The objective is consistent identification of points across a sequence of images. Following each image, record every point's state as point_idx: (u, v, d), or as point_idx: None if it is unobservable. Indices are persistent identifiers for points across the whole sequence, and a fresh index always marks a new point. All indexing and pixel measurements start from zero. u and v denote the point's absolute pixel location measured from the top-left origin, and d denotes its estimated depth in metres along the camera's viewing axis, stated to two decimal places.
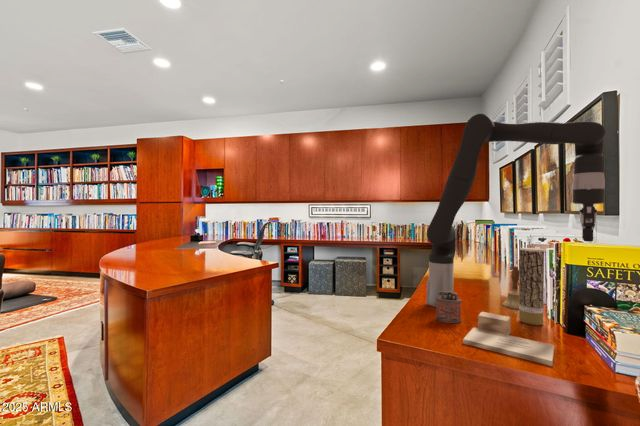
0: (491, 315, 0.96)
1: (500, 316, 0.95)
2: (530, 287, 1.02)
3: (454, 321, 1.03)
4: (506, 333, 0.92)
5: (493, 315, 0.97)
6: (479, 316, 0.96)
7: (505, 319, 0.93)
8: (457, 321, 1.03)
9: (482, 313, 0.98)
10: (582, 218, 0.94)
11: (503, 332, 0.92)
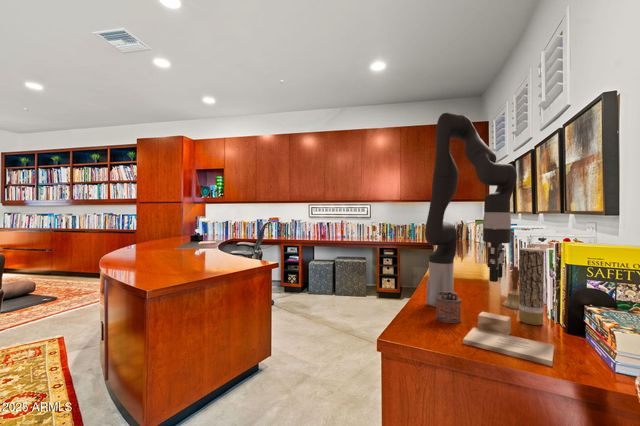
0: (491, 315, 0.96)
1: (500, 316, 0.95)
2: (530, 287, 1.02)
3: (454, 321, 1.03)
4: (506, 333, 0.92)
5: (493, 315, 0.97)
6: (479, 316, 0.96)
7: (505, 319, 0.93)
8: (457, 321, 1.03)
9: (482, 313, 0.99)
10: None
11: (503, 332, 0.92)
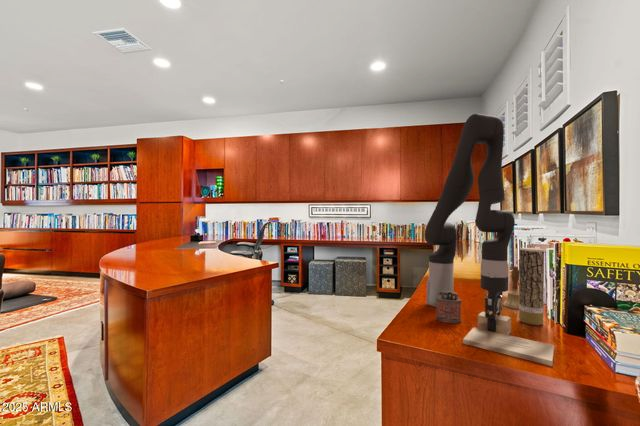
0: None
1: (500, 317, 0.95)
2: (530, 287, 1.02)
3: (454, 321, 1.03)
4: (505, 333, 0.92)
5: None
6: (479, 316, 0.97)
7: (505, 319, 0.93)
8: (457, 321, 1.03)
9: (482, 313, 0.99)
10: None
11: (502, 332, 0.92)
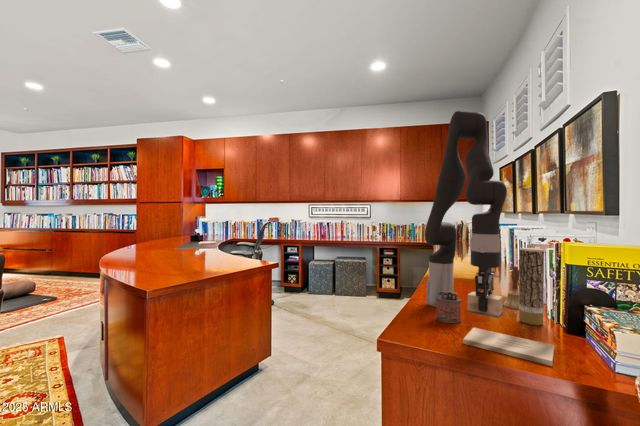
0: None
1: (492, 296, 0.88)
2: (530, 287, 1.02)
3: (454, 321, 1.03)
4: (497, 313, 0.84)
5: None
6: (469, 295, 0.89)
7: (497, 298, 0.86)
8: (457, 321, 1.03)
9: (472, 293, 0.91)
10: None
11: (494, 312, 0.85)
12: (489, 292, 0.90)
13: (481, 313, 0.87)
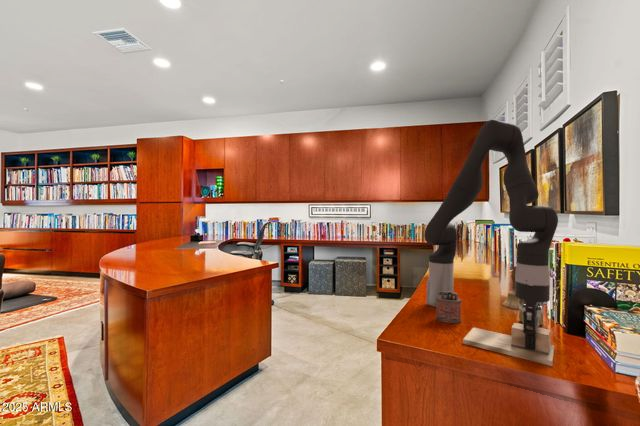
0: (527, 327, 0.82)
1: (538, 329, 0.81)
2: None
3: (454, 321, 1.03)
4: (546, 349, 0.77)
5: (529, 327, 0.82)
6: (513, 328, 0.82)
7: (545, 332, 0.79)
8: (457, 321, 1.03)
9: (515, 324, 0.84)
10: None
11: (543, 348, 0.78)
12: None
13: None
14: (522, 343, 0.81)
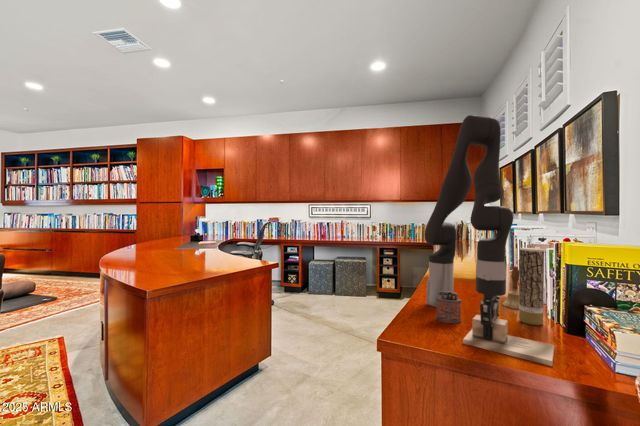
0: (487, 319, 0.88)
1: (497, 320, 0.87)
2: (530, 287, 1.02)
3: (454, 321, 1.03)
4: (503, 338, 0.83)
5: None
6: (473, 320, 0.88)
7: (502, 323, 0.85)
8: (457, 321, 1.03)
9: (477, 316, 0.90)
10: None
11: (500, 337, 0.84)
12: None
13: None
14: (482, 333, 0.87)
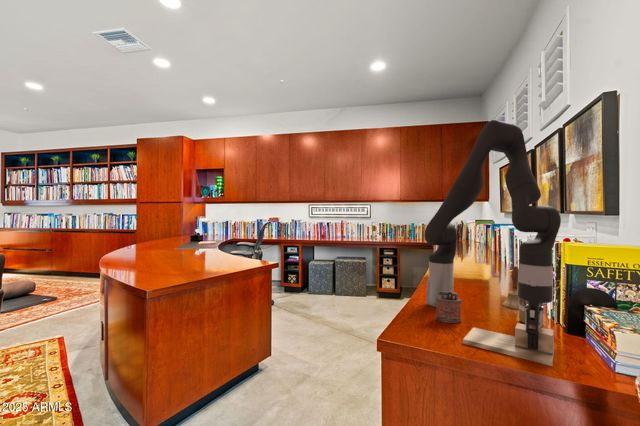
0: (531, 328, 0.82)
1: (542, 330, 0.81)
2: None
3: (454, 321, 1.03)
4: (551, 350, 0.77)
5: (533, 328, 0.82)
6: (516, 329, 0.82)
7: (549, 333, 0.79)
8: (457, 321, 1.03)
9: (519, 325, 0.84)
10: None
11: (547, 349, 0.78)
12: None
13: (531, 349, 0.80)
14: (526, 344, 0.80)
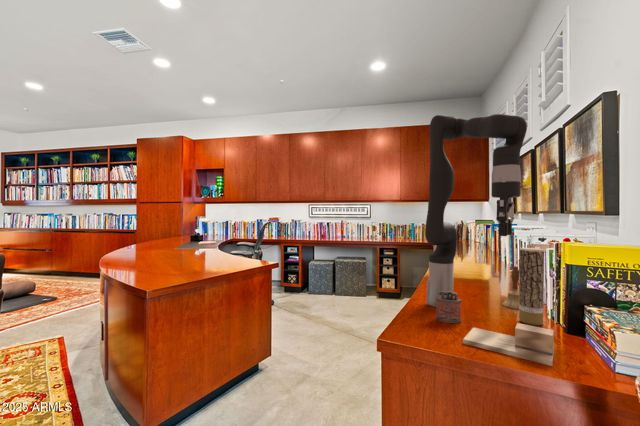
0: (531, 328, 0.82)
1: (542, 330, 0.81)
2: (530, 287, 1.02)
3: (454, 321, 1.03)
4: (551, 350, 0.77)
5: (533, 328, 0.82)
6: (516, 329, 0.82)
7: (549, 333, 0.79)
8: (457, 321, 1.03)
9: (519, 325, 0.84)
10: None
11: (547, 349, 0.78)
12: (510, 221, 0.96)
13: (531, 349, 0.80)
14: (526, 344, 0.80)
